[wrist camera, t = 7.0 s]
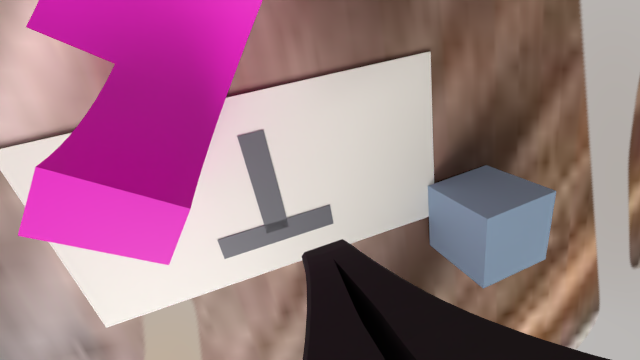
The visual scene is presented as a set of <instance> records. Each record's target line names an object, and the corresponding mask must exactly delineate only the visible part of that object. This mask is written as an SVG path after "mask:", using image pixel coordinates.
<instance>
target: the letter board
mask: <svg viewBox="0 0 640 360" xmlns="http://www.w3.org/2000/svg"><path fill="white" fill-rule="evenodd" d="M71 133H72V132H71ZM71 133H67V134H63V135H58V136H54V137H49V138H45V139H40V140H36V141H32V142H27V143H23V144H18V145H14V146H10V147H5V148H1V149H0V170H1V172H2V173H3V175H4V176H5V178H6V179H7V181H8V182H9V184H10V185H11V187H12V188H13V190H14V191H15V193H16V194H17V196H18V197H19V199H20V200H21V201H22V203H23V204H24V206H26V202H27V198H28V194H29V190H30V186H31V182H32V178H33V175H34V171H35V167H36V166H37V165H38V164H40V163H41V162H42V161H44V160H45V159H46V158H47V157H49V156H50V155H51V154H52V153H53V152H54V151H55V150H56V149H57V148H58V147H59V146H60V145H61V144H62V143H63V142H64V141H65V140H66V139H67V138H68V137H69V136H70V134H71ZM432 184H434V159H433V123H432V88H431V53H430V52H424V53H420V54H416V55H411V56H407V57H402V58H398V59H394V60H389V61H385V62H380V63H376V64H371V65H367V66H363V67H358V68H354V69H349V70H345V71H341V72H336V73H332V74H327V75H323V76H319V77H314V78H310V79H305V80H301V81H296V82H292V83H288V84H283V85H279V86H274V87H270V88H266V89H261V90H257V91H252V92H248V93H243V94H239V95H235V96H230V97H226V99H225V102H224V104H223V107H222V110H221V113H220V116H219V119H218V122H217V125H216V127H215V130H214V133H213V136H212V139H211V142H210V145H209V148H208V151H207V155H206V158H205V161H204V164H203V167H202V170H201V174H200V177H199V180H198V184H197V187H196V191H195V194H194V198H193V202H192V205H191V209H190V212H189V214H188V217H187V220H186V222H185V225H184V227H183V230H182V233H181V235H180V238H179V240H178V243H177V246H176V248H175V251H174V254H173V256H172V259H171V261H170V264H169V265H165V264H160V263H155V262H149V261H144V260H139V259H134V258H129V257H124V256H119V255H114V254H109V253H104V252H99V251H93V250H88V249H83V248H78V247H73V246H68V245H63V244H58V243H53V242H49V243H50V245H51V246H52V248H53V249H54V251H55V252H56V254H57V255H58V257H59V258H60V259H61V261H62V262H63V264H64V265H65V267H66V268H67V270H68V271H69V273H70V274H71V276H72V277H73V279H74V280H75V282H76V283H77V285H78V286H79V288H80V289H81V291H82V292H83V294H84V295H85V297H86V298H87V300H88V301H89V303H90V304H91V306H92V307H93V309H94V310H95V312H96V313H97V314H98V316H99V317H100V319H101V320H102V322H103V323H104V325H105V326H106V328H107V327H110V326H113V325H116V324H118V323H121V322H124V321H127V320H130V319H133V318H136V317H139V316H142V315H145V314H147V313H150V312H153V311H156V310H159V309H162V308H165V307H168V306H171V305H174V304H176V303H179V302H182V301H185V300H188V299H191V298H194V297H197V296H200V295H203V294H206V293H208V292H211V291H214V290H217V289H220V288H223V287H226V286H229V285H232V284H235V283H238V282H240V281H243V280H246V279H249V278H252V277H255V276H258V275H261V274H264V273H267V272H270V271H272V270H275V269H278V268H281V267H284V266H287V265H290V264H293V263H296V262H299V261H301V260H302V255H303V253H304V252H306V251H309V250H312V249H315V248H318V247H321V246H324V245H327V244H330V243H332V242H335V241H338V240H341V239H343V240H345V241H347V242H348V243H349V244H351V243H354V242H357V241H360V240H363V239H365V238H368V237H371V236H374V235H377V234H380V233H383V232H386V231H389V230H392V229H394V228H397V227H400V226H403V225H406V224H409V223H412V222H415V221H418V220H421V219H424V218H426V217H429V206H428V186H429V185H432Z"/></svg>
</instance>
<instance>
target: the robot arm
mask: <svg viewBox="0 0 640 360" xmlns="http://www.w3.org/2000/svg"><path fill="white" fill-rule="evenodd" d="M302 260H303V264H304V268H305V272H306V281H307V319H306V335H305V345H304V354H303V360H610V359H606V358H602V357H598V356H594V355H591V354H588V353H584V352H581V351H578V350H574V349H571V348H568V347H565V346H561V345H558V344H555V343H552V342H548V341H545V340H542V339H539V338H536V337H533V336H530V335H527V334H524V333H522V332H519V331H516V330H514V329H511V328H508V327H506V326H503V325H500V324H497V323H495V322H492V321H489V320H487V319H484V318H482V317H479V316H477V315H474V314H472V313H469V312H467V311H465V310H463V309H460V308H458V307H456V306H454V305H452V304H450V303H447V302H445V301H443V300H441V299H439V298H437V297H435V296H433V295H431V294H429V293H427V292H425V291H424V290H422V289H420V288H418V287H416V286H414V285H413V284H411V283H409V282H407V281H406V280H404V279H402V278H400V277H399V276H397V275H396V274H394V273H392V272H391V271H389V270H388V269H386V268H384V267H383V266H381V265H380V264H378V263H377V262H375V261H374V260H372V259H371V258H369V257H368V256H366V255H365V254H363V253H362V252H360V251H359V250H358V249H356V248H355V247H354V246H352V245H351V244H349V243H348V242H347V241H345V240H343V239H341V240H338V241H335V242H332V243H330V244H327V245H324V246H321V247H318V248H315V249H312V250H309V251H306V252H304V253H303V255H302Z"/></svg>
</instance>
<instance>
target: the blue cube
mask: <svg viewBox="0 0 640 360" xmlns="http://www.w3.org/2000/svg"><path fill="white" fill-rule="evenodd" d="M555 196H556V191H555V190H552V189H549V188H547V187H544V186H541V185H539V184H536V183H533V182H530V181H528V180H525V179H522V178H520V177H517V176H514V175H512V174H509V173H506V172H503V171H501V170H498V169H495V168H493V167H490V166H487V165H485V166H482V167H480V168H477V169H474V170H471V171H468V172H466V173H463V174H460V175H457V176H454V177H451V178H449V179H446V180H443V181H440V182H437V183H435V184H432V185H429V186H428V206H429V234H430V245H431V246H432V247H433V248H434V249H435V250H437V251H438V252H439V253H440V254H442V255H443V256H444V257H445V258H447V259H448V260H449V261H450V262H451V263H453V264H454V265H455V266H456V267H458V268H459V269H460V270H461V271H462V272H464V273H465V274H466V275H467V276H469V277H470V278H471V279H472V280H474V281H475V282H476V283H477V284H478V285H480V286H481V287H482V288H485V287H488V286H490V285H492V284H494V283H496V282H498V281H500V280H502V279H504V278H507V277H509V276H511V275H513V274H515V273H517V272H519V271H521V270H523V269H526V268H528V267H530V266H532V265H534V264H536V263H538V262H540V261H542V260H545V258H546V252H547V246H548V240H549V233H550V227H551V221H552V215H553V208H554V202H555Z"/></svg>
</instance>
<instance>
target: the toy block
mask: <svg viewBox="0 0 640 360" xmlns="http://www.w3.org/2000/svg"><path fill="white" fill-rule="evenodd" d="M261 3H262V0H39V1H38V4H37V6H36V8H35V10H34V12H33V14H32V16H31V18H30V20H29V22H28V24H27V26H26V27H27V28H30V29H32V30H35V31H37V32H39V33H42V34H44V35H47V36H49V37H52V38H54V39H56V40H59V41H61V42H64V43H66V44H69V45H71V46H73V47H76V48H78V49H81V50H83V51H85V52H88V53H90V54H93V55H95V56H98V57H100V58H102V59H105V60H107V61H110V62H112V63H115V65H114V67H113V69H112V71H111V73H110V75H109V77H108V79H107V81H106V83H105V85H104V87H103V88H102V90H101V92H100V94H99V95H98V97H97V99H96V100H95V102H94V103H93V105H92V106H91V108H90V109H89V111H88V112H87V114H86V115H85V117H84V118H83V119H82V121H81V122H80V123H79V125H78V126H77V127H76V128H75V130H74V131H73V132H72V133H71V134H70V136H69V137H68V138H67V139H66V140H65V141H64V142H63V143H62V144H61V145H60V146H59V147H58V148H57V149H56V150H55V151H54V152H53V153H52V154H51V155H50V156H49V157H47V158H46V159H45V160H44V161H42V162H41V163H40V164H38V165H37V166H36V167H35V171H34V175H33V178H32V182H31V186H30V190H29V194H28V198H27V202H26V206H25V210H24V214H23V218H22V222H21V225H20V229H19V233H18V236H22V237H27V238H32V239H37V240H43V241H48V242H53V243H58V244H63V245H68V246H73V247H78V248H83V249H88V250H93V251H99V252H104V253H109V254H114V255H119V256H124V257H129V258H134V259H139V260H144V261H149V262H155V263H160V264H165V265H169V264H170V261H171V259H172V256H173V254H174V251H175V248H176V246H177V243H178V240H179V238H180V235H181V233H182V230H183V227H184V225H185V222H186V220H187V217H188V214H189V212H190V209H191V205H192V202H193V198H194V194H195V191H196V187H197V184H198V180H199V177H200V174H201V170H202V167H203V164H204V161H205V158H206V155H207V151H208V148H209V145H210V142H211V139H212V136H213V133H214V130H215V127H216V125H217V122H218V119H219V116H220V113H221V110H222V107H223V104H224V102H225V99H226V96H227V93H228V90H229V88H230V85H231V82H232V79H233V77H234V74H235V71H236V68H237V66H238V63H239V60H240V58H241V55H242V52H243V50H244V47H245V44H246V42H247V39H248V36H249V34H250V31H251V29H252V26H253V23H254V21H255V18H256V16H257V13H258V10H259V8H260V5H261Z"/></svg>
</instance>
